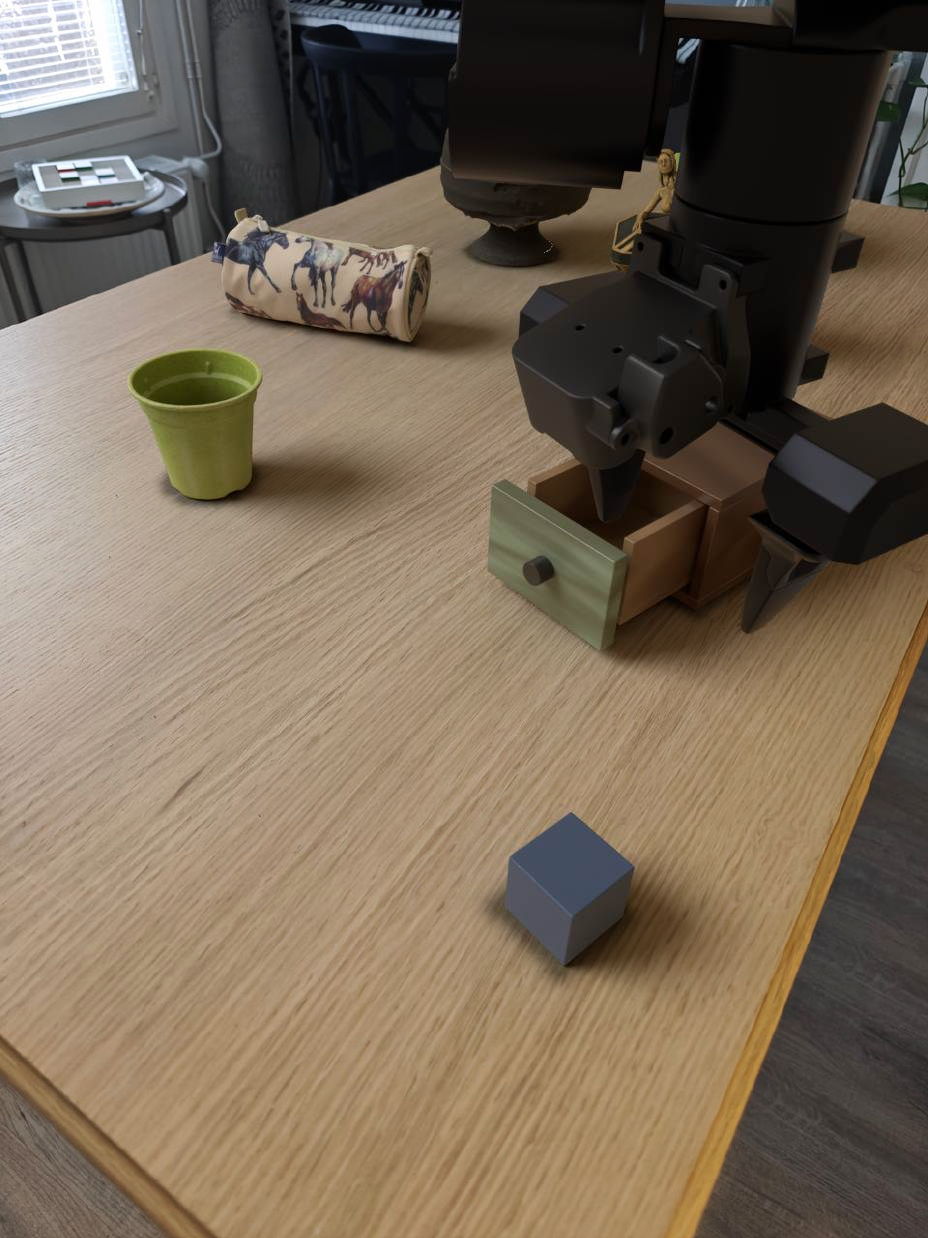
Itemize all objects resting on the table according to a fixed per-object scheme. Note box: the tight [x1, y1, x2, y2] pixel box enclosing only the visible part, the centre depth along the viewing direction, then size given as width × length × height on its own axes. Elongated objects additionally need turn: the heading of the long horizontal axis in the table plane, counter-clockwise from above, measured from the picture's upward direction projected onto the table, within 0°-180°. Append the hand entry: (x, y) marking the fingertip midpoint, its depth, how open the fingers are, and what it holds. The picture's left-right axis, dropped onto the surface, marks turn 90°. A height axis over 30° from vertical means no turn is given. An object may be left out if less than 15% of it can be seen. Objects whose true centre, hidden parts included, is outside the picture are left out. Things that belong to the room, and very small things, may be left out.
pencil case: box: [210, 207, 434, 343], centre depth 92 cm, size 22×8×10 cm, turn 70°
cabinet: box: [641, 407, 834, 611], centre depth 65 cm, size 15×12×9 cm
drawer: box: [486, 457, 710, 652], centre depth 60 cm, size 15×10×7 cm
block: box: [504, 811, 636, 967], centre depth 42 cm, size 4×4×4 cm
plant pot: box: [126, 347, 263, 500], centre depth 69 cm, size 9×9×9 cm
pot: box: [439, 127, 593, 267], centre depth 107 cm, size 18×18×20 cm
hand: (675, 570), depth 41 cm, fingers open, 9 cm apart
